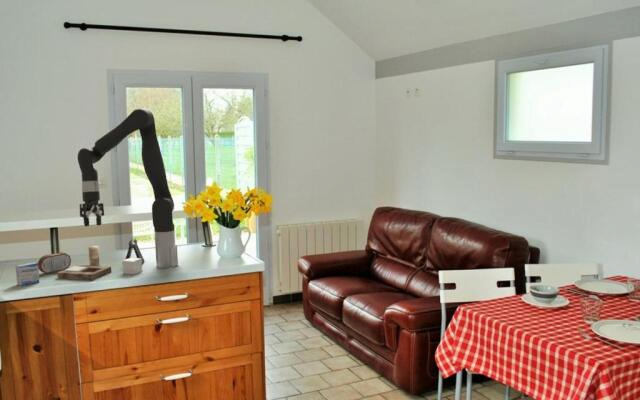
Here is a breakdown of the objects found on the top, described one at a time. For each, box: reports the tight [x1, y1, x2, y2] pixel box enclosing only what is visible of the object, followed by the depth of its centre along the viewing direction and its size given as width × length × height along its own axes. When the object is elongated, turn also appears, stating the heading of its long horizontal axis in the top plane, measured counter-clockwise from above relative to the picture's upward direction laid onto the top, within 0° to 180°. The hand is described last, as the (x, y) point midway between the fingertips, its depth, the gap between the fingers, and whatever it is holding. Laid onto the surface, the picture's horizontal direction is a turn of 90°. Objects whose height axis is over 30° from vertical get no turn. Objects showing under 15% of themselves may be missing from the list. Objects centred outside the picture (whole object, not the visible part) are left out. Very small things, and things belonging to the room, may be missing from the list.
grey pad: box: [64, 265, 87, 271], centre depth 271 cm, size 7×7×1 cm
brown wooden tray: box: [56, 264, 112, 281], centre depth 270 cm, size 18×14×2 cm
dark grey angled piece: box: [124, 238, 145, 266], centre depth 289 cm, size 9×6×12 cm, turn 98°
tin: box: [37, 252, 72, 274], centre depth 277 cm, size 15×3×8 cm, turn 141°
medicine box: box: [15, 261, 40, 287], centre depth 258 cm, size 8×4×9 cm, turn 138°
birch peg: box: [87, 245, 101, 266], centre depth 283 cm, size 4×4×10 cm
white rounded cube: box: [122, 257, 143, 275], centre depth 274 cm, size 6×6×6 cm
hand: (93, 225), depth 278 cm, fingers open, 8 cm apart
